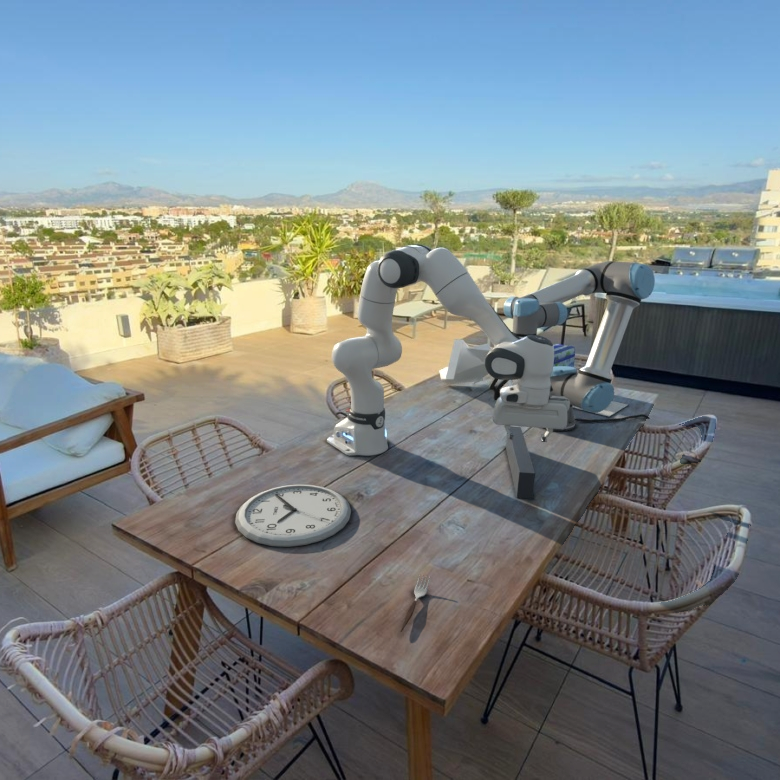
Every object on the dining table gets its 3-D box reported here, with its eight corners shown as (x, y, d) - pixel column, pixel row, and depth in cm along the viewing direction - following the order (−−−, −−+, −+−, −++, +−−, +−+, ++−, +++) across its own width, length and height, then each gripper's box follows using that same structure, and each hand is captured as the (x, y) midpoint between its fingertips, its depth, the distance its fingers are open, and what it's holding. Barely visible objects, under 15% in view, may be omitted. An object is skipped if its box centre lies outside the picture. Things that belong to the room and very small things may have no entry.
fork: (394, 632, 98) (394, 623, 98) (419, 581, 113) (419, 573, 112) (407, 636, 97) (407, 627, 97) (430, 584, 112) (431, 576, 111)
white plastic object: (461, 429, 252) (437, 405, 227) (444, 352, 274) (420, 323, 250) (535, 404, 240) (518, 377, 215) (510, 326, 262) (492, 293, 237)
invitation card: (608, 416, 214) (573, 407, 224) (608, 416, 214) (573, 408, 224) (628, 404, 229) (594, 396, 238) (628, 405, 229) (594, 397, 238)
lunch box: (547, 396, 238) (552, 351, 232) (526, 391, 246) (531, 347, 239) (574, 385, 256) (579, 343, 250) (554, 380, 263) (559, 340, 257)
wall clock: (351, 538, 125) (223, 542, 122) (351, 544, 125) (223, 548, 123) (350, 480, 153) (246, 482, 151) (350, 485, 154) (246, 487, 151)
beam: (505, 447, 183) (507, 426, 180) (518, 448, 182) (520, 426, 180) (516, 497, 149) (519, 472, 146) (532, 498, 148) (535, 473, 146)
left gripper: (568, 393, 147) (561, 438, 151) (495, 388, 149) (490, 433, 153) (573, 400, 141) (566, 447, 145) (496, 395, 143) (491, 441, 147)
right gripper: (561, 346, 169) (555, 407, 176) (483, 344, 172) (480, 405, 178) (566, 351, 162) (559, 415, 168) (484, 349, 165) (481, 412, 171)
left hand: (526, 440), depth 149 cm, fingers open, 8 cm apart
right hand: (518, 410), depth 173 cm, fingers open, 13 cm apart
